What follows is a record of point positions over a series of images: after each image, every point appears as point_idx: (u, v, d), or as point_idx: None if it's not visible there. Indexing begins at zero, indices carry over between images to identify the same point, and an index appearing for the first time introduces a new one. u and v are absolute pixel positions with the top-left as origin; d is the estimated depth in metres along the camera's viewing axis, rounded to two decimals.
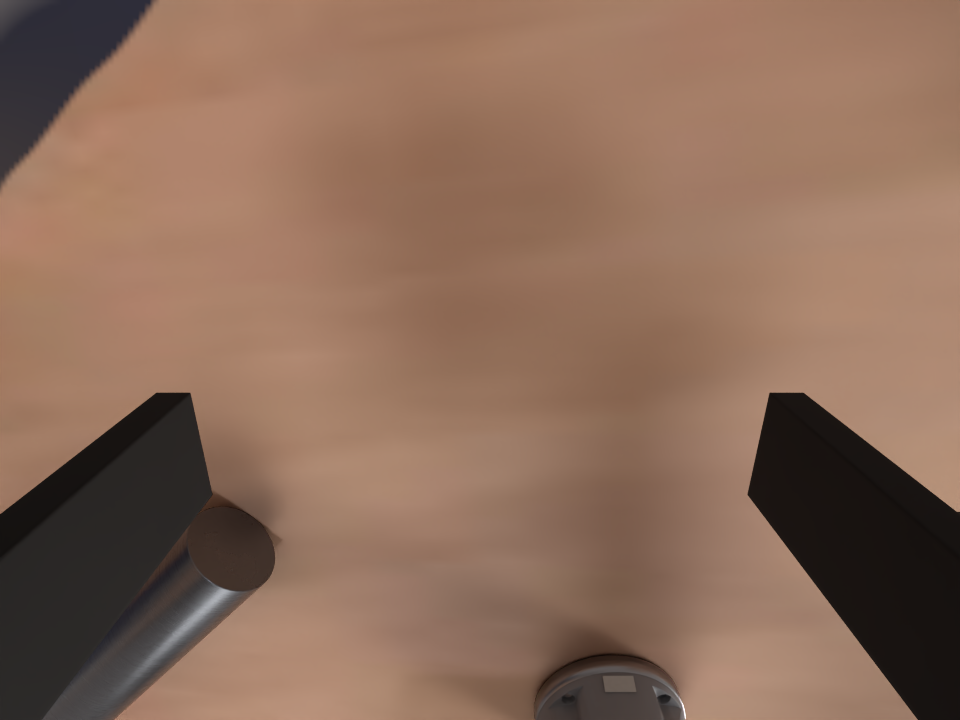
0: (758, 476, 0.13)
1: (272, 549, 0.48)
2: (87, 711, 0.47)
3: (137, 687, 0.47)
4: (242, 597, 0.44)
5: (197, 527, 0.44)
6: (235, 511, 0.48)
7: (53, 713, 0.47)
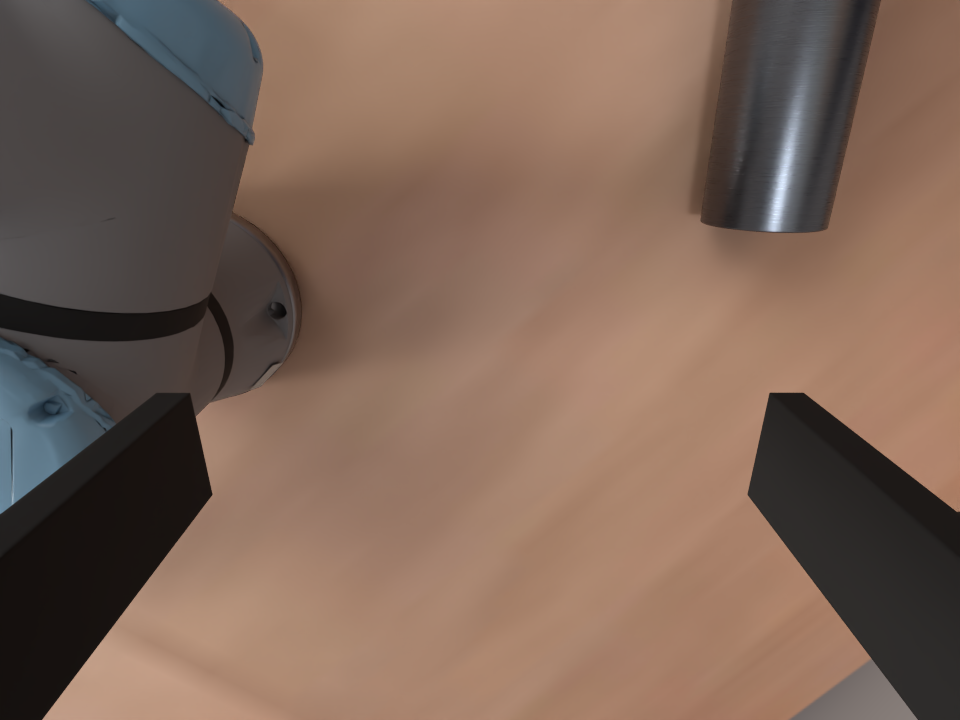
0: (758, 476, 0.13)
1: None
2: None
3: None
4: (738, 212, 0.35)
5: None
6: None
7: None
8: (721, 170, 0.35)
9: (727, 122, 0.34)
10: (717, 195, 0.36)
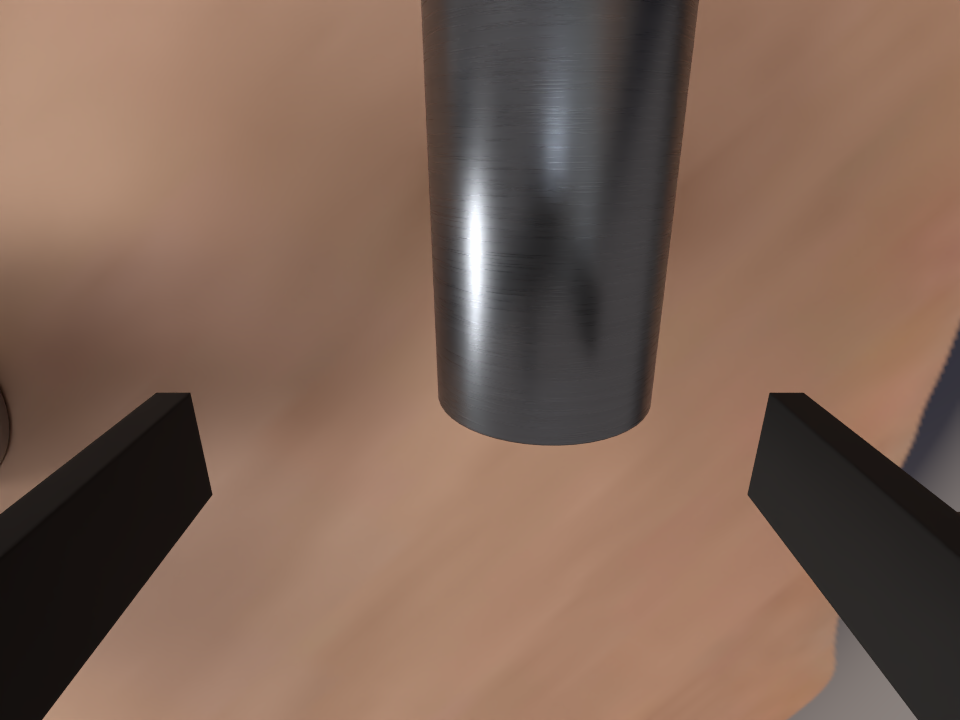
0: (758, 476, 0.13)
1: None
2: None
3: None
4: (464, 398, 0.18)
5: None
6: None
7: None
8: (437, 313, 0.18)
9: (433, 225, 0.17)
10: (439, 356, 0.19)
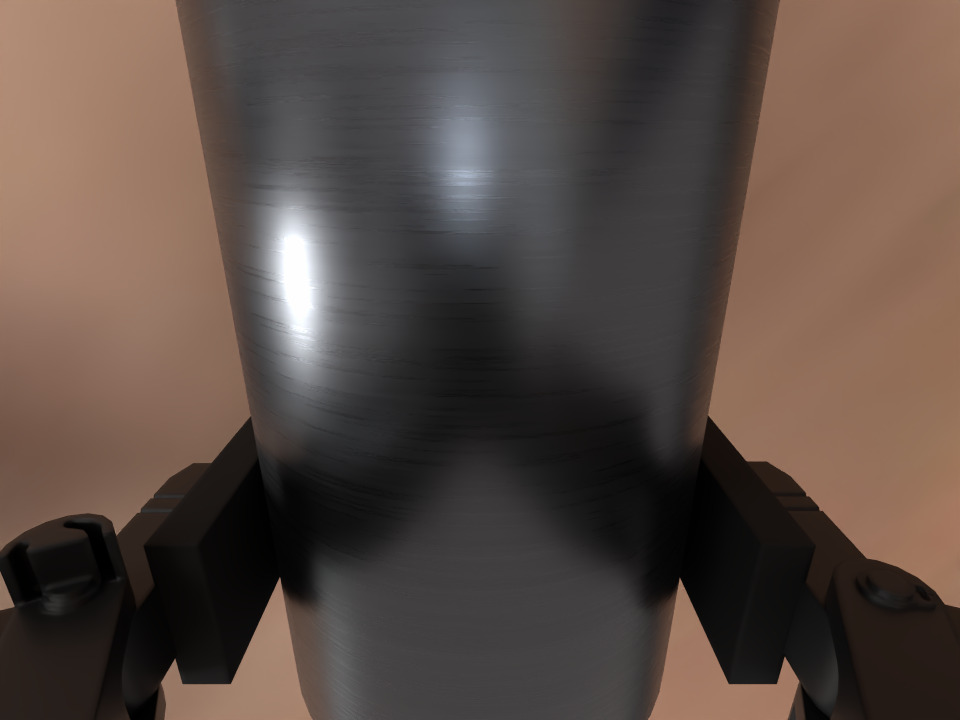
0: None
1: None
2: None
3: None
4: (310, 688, 0.09)
5: None
6: None
7: None
8: None
9: None
10: None
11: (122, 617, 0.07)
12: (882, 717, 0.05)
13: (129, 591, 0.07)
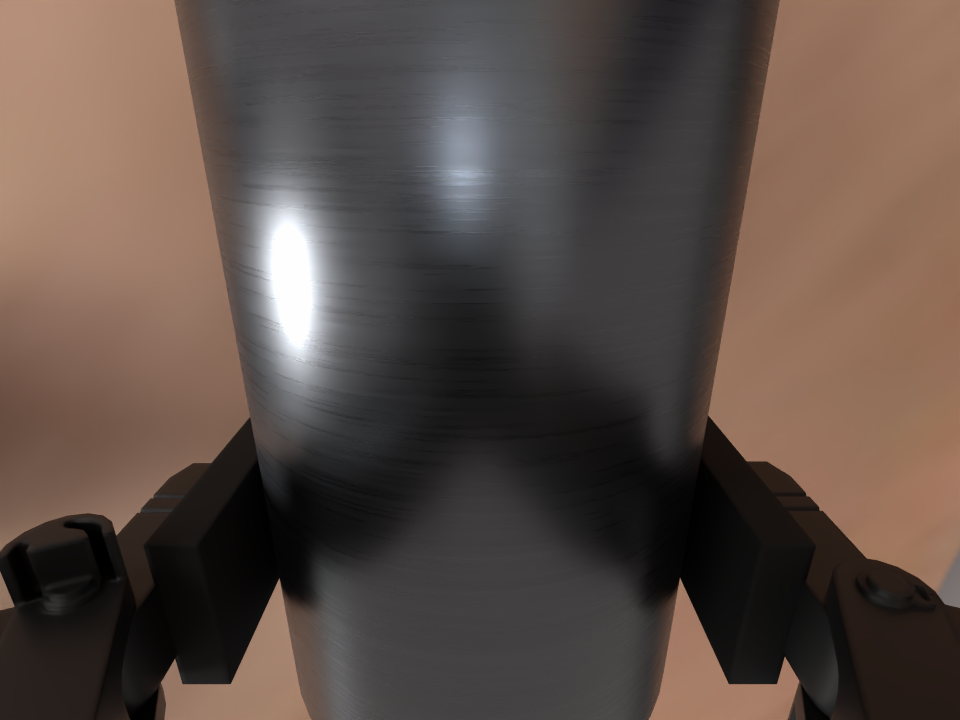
0: None
1: None
2: None
3: None
4: (310, 688, 0.09)
5: None
6: None
7: None
8: None
9: None
10: None
11: (122, 617, 0.07)
12: (881, 717, 0.05)
13: (129, 591, 0.07)
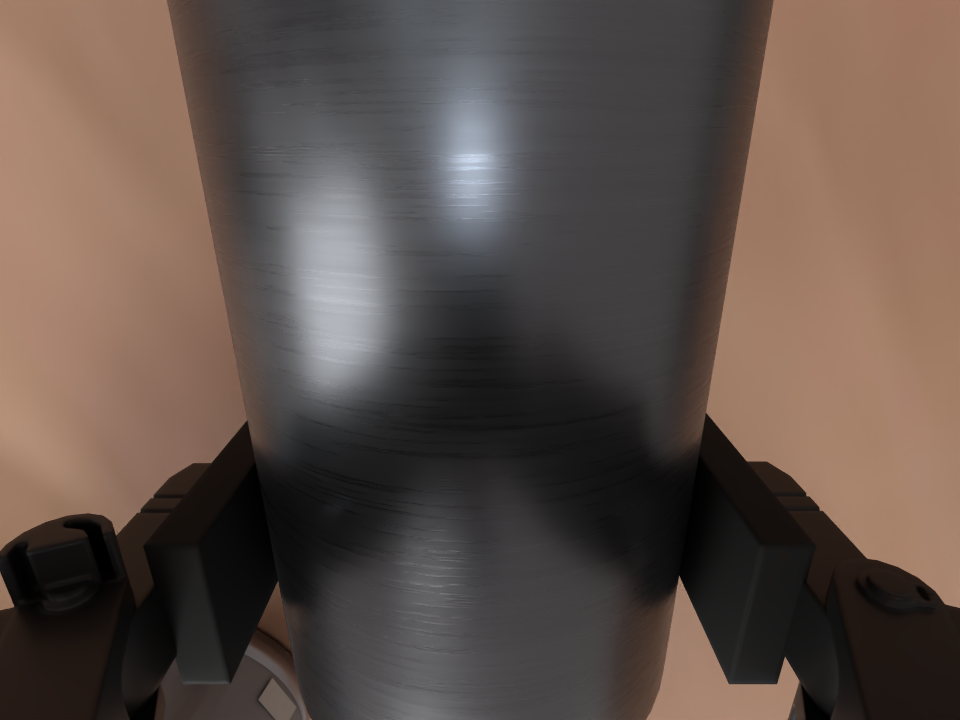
0: None
1: None
2: None
3: None
4: (308, 685, 0.09)
5: None
6: None
7: None
8: None
9: None
10: None
11: (122, 617, 0.07)
12: (882, 717, 0.05)
13: (129, 591, 0.07)
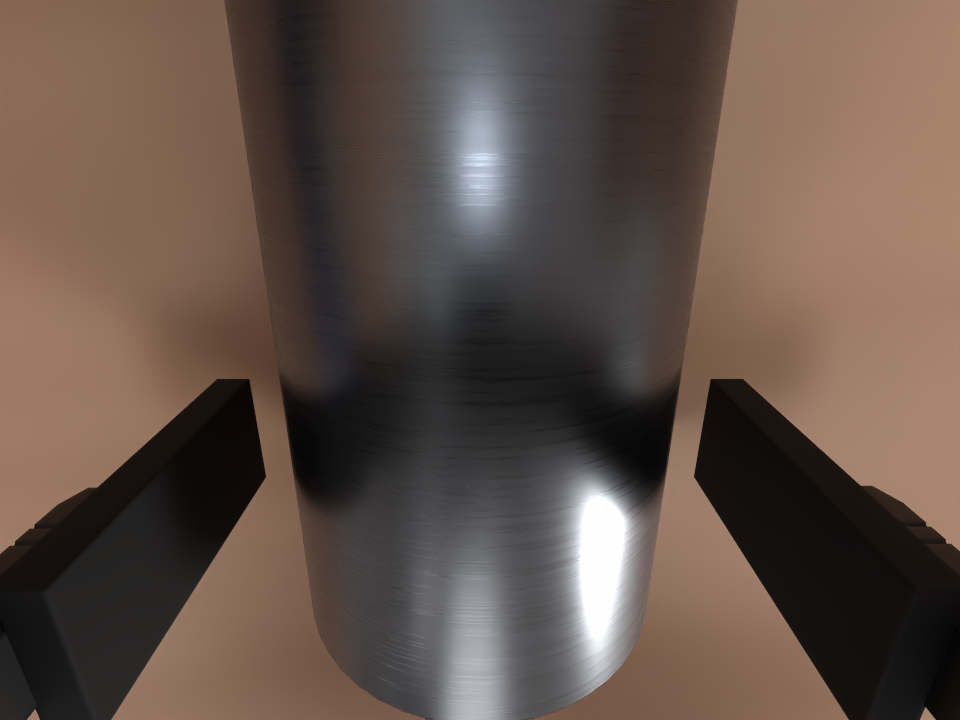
0: (701, 459, 0.13)
1: None
2: None
3: None
4: (330, 624, 0.11)
5: None
6: None
7: None
8: None
9: None
10: None
11: None
12: None
13: None
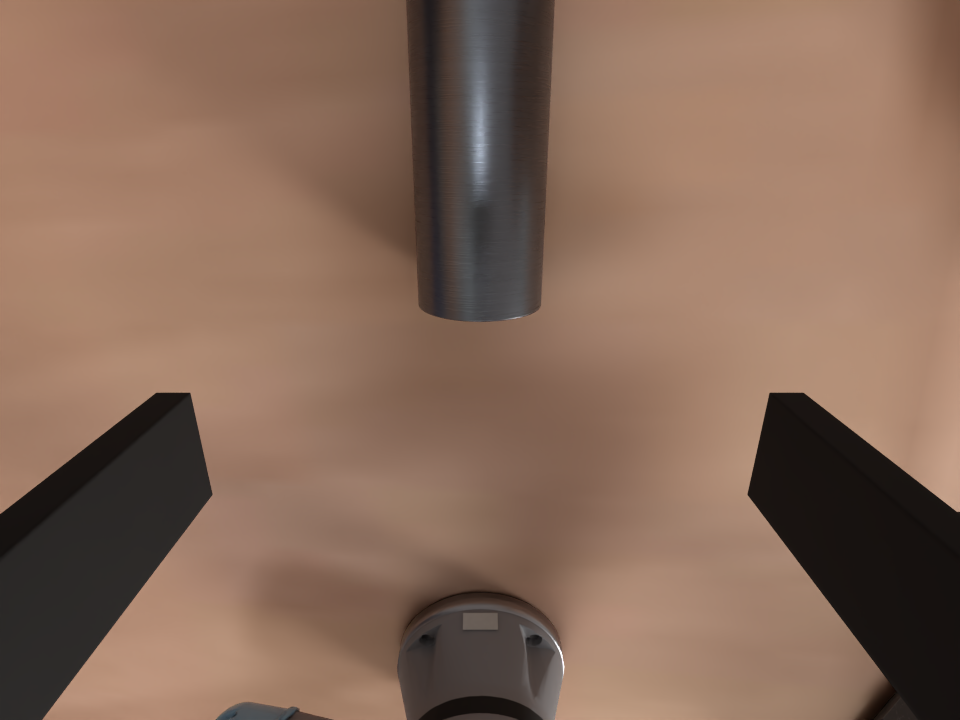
0: (758, 476, 0.13)
1: None
2: None
3: (432, 19, 0.27)
4: (431, 298, 0.32)
5: None
6: None
7: None
8: (417, 252, 0.33)
9: (415, 203, 0.32)
10: (418, 277, 0.33)
11: None
12: None
13: None
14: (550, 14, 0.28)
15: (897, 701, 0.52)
